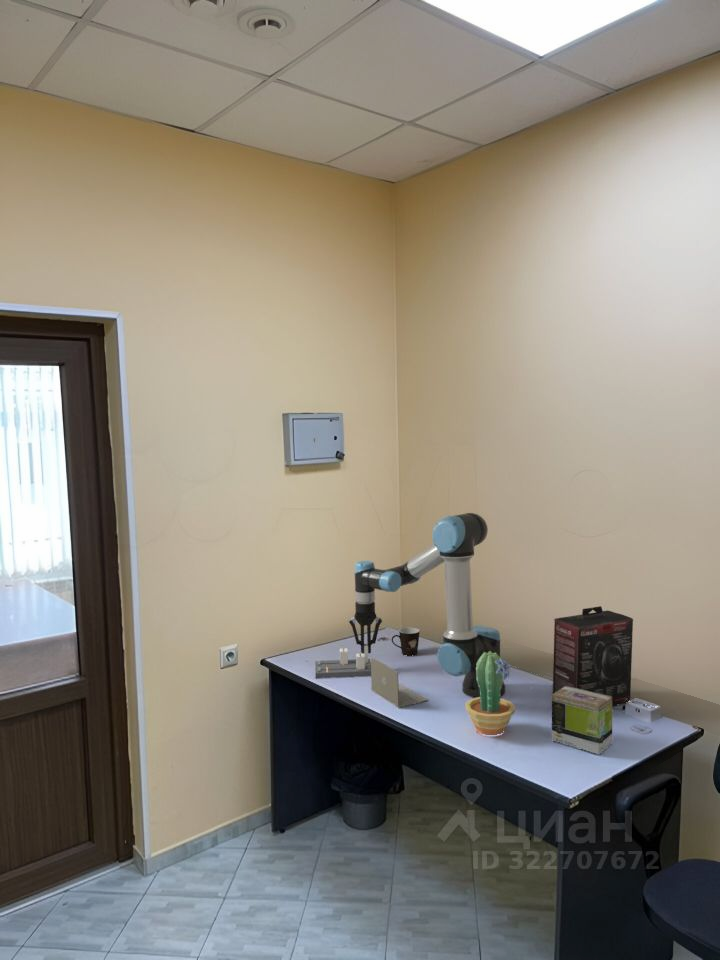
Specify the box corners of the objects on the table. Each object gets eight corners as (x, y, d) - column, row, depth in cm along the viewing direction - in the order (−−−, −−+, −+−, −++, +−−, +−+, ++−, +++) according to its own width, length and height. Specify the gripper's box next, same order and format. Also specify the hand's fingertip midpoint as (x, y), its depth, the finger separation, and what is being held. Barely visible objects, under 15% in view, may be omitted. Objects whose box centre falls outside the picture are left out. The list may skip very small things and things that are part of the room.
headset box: (605, 690, 248) (606, 599, 246) (633, 702, 237) (634, 607, 234) (551, 703, 238) (551, 608, 235) (577, 717, 226) (578, 617, 224)
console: (373, 675, 267) (373, 669, 267) (315, 678, 266) (315, 672, 265) (370, 663, 281) (369, 657, 281) (315, 665, 279) (315, 659, 279)
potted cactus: (478, 745, 208) (477, 663, 206) (456, 724, 223) (456, 647, 221) (524, 737, 212) (524, 657, 210) (500, 717, 227) (500, 642, 225)
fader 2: (364, 669, 268) (364, 656, 268) (357, 669, 268) (356, 656, 268) (364, 665, 272) (363, 653, 272) (356, 666, 272) (356, 653, 271)
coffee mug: (420, 650, 296) (419, 627, 295) (419, 657, 287) (419, 633, 286) (392, 650, 297) (392, 627, 296) (391, 657, 288) (391, 633, 287)
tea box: (613, 744, 207) (613, 695, 206) (599, 756, 199) (599, 706, 198) (565, 730, 217) (565, 684, 216) (550, 741, 209) (550, 693, 208)
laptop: (428, 701, 242) (428, 665, 241) (398, 709, 236) (397, 671, 235) (400, 685, 258) (399, 650, 257) (371, 692, 252) (370, 657, 250)
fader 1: (347, 663, 275) (347, 651, 274) (340, 664, 274) (339, 651, 274) (347, 660, 279) (347, 648, 278) (339, 660, 278) (339, 648, 278)
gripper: (381, 598, 272) (381, 657, 274) (347, 599, 272) (348, 658, 273) (382, 603, 265) (383, 663, 267) (348, 604, 264) (349, 665, 266)
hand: (366, 661), depth 270 cm, fingers closed
